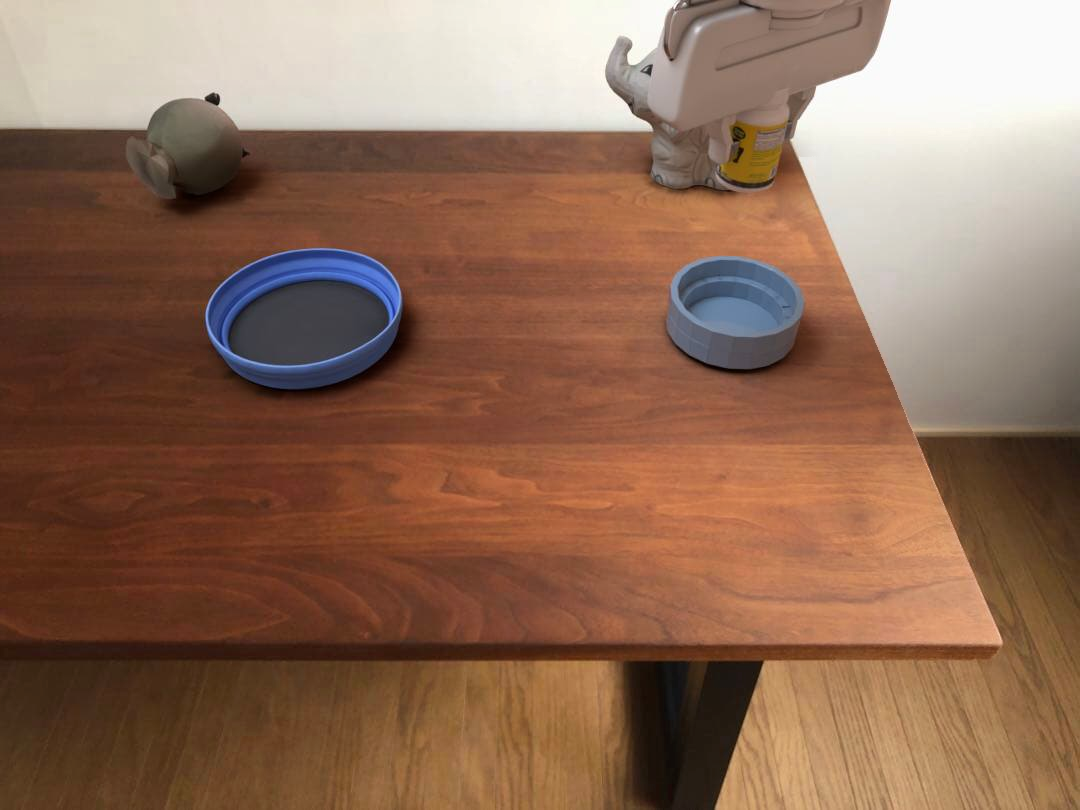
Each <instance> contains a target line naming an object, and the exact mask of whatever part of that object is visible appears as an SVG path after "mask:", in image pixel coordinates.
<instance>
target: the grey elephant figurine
mask: <svg viewBox="0 0 1080 810" xmlns="http://www.w3.org/2000/svg"><path fill="white" fill-rule="evenodd" d="M633 45H634V44H633V41H632V39H630V38H629V37H627V36H623V35H618V37H616V41H615V43H614V45H613V47H612V49H611V51H610V53H609V56H608V59H607V61H606V65H605V68H604V76H605V80H606V83H607V84H608V86H609V88H610V89H611V90H612V92H613V93H614V94H615V95H616V96H618V97H619V98H620V99H621V100H623V101H624V103H626V105H627V106H628V109H629V110H630V112H631V114H632V115H633V116H634V117H636V118H637V119H640V120H642V121H644V122H646V123H648V124H649V125H650V126H651V128H652V132H653V133H652V139H651V143H650V147H651V154H652V160H653V163H652V167H651V171H650V177H651V178H652V180H653V181H655V182H656V183H658V184H659V185H661V186H663V187H666V188H670V189H675V190H681V189H683V190H684V189H688V188H690V187H693V186H706V187H708V188H712V189H716V190H720V191H731V190H730V189H728V188H726V187H725V186H723V185H722V184H721V183H720V182H719V181H718V180H717V178H716V174H715V173H716V165H717V163H716V162H714V161H713V160H711V159H710V157H709V154H708V151H709V145H710V138H711V137H710V136H709V134H708V131H707V129H706V127H705V124H704V125H702V126H699V127H696V128H693V129H690V130H687V131H678V130H676V129H674V128H672V127H670V126H669V125H667V124H665V123H664V122H662V121H661V120H659V119H658V118H657V117H655V116H654V114H653V113H652V112H651V110H650V109H649V107H648V104H647V97H648V90H649V84H650V78H651V73H652V68H653V64H654V59H655V55H656V51H657V47H655V48H654V49H653V50H651V51H650V52H649V53H648V54H647V55H646V56H645V57H644V58H643V59H642V60H641V61H640V62H638V63H637V64H630V63H629V62H628V54H629V52H630V51H631V49H632V48H633Z"/></svg>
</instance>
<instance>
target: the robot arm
mask: <svg viewBox="0 0 1080 810" xmlns="http://www.w3.org/2000/svg"><path fill="white" fill-rule="evenodd" d="M891 3H892V0H676V1H675V2H674V4H673V6H672V7H670V8H669V9H668V10H667V12H666V14H665V17H664V23H663V27H662V30H661V32H660V36H659V39H658V43H657V47H656V48H657V51H656V55H655V59H654V64H653V68H652V73H651V78H650V84H649V90H648V97H647V104H648V107H649V109H650V110H651V112H652V113H653V114H654V116H655V117H657V118H658V119H659V120H661V121H662V122H664V123H665V124H667V125H669V126H670V127H672V128H674V129H676V130H678V131H687V130H690V129H693V128H696V127H699V126H702V125H704V124H705V127H706V129H707V131H708V134H709V136H710V137H711V138H710V145H709V151H708V154H709V157H710V159H711V160H713V161H714V162H716V163H717V164H719V165H723V164H725V163H728V162H731V161H733V160H736V159H737V158H738V150H739V148H740V142H741V141H740V140H739V139H737V138H735V137H731V133H730V130H729V125H730V126H731V125H734V123H735V120H736V115H737V113H739V112H742V111H745V110H748V109H751V108H754V107H757V106H760V105H763V104H766V103H768V102H769V101H770V100H771V99H772V97H773V96H774V94H775V92H776V91H777V90H780V89H783V88H786V87H788V88H789V89H788V90H789V93H788V95H789V97H788V100H787V102H786V103H787V105H788V107H789V119H788V123H787V128H786V132H785V136H784V141H783V143H785V142H786V141H787V142H788V141H789V140H792V139H794V137H795V133H796V130H797V125H798V121H799V120H800V119H801V117H802V116H803V114H804V113H805V111H807V110H806V109H807V108H808V107H809V105H810V104H811V102H812V101H813V100H814V98H815V94H816V90H817V87H818V86H821V85H824V84H827V83H829V82H833V81H836V80H838V79H841V78H844V77H847V76H851V75H853V74H856V73H859V72H862V71H863V70H864V69H865V68H866V67H867V66H868V64H869V63H870V62H871V60H872V59H873V57H874V56H875V54H876V52H877V50H878V48H879V44H880V41H881V39H882V35H883V31H884V28H885V26H886V22H887V18H888V16H889V15H888V14H889V10H890V6H891Z"/></svg>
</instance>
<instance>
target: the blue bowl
mask: <svg viewBox="0 0 1080 810" xmlns="http://www.w3.org/2000/svg"><path fill="white" fill-rule="evenodd" d="M669 285H670V286H669V292H668V300H667V304H666V305H667V306H666V312H665V323H666V324H665V325H666V331H667V333H668V334H669V336H670V338H671V339H672V341H673V343H674V344H675V345H676V346H677V347H678V348H679V349H680V350H682V351H683V352H685V354H687V355H688V356H690V357H692V358H694V359H696V360H699V361H700V362H703V363H705V364H708V365H712V366H715V367H719V368H725V369H729V370H731V369H732V370H752V369H759V368H764V367H768V366H770V365H772V364H774V363H776V362H778V361H780V360H782V359H784V358H785V357H786V356H787V355H788V353H789V352H791V350H792V349H793V348H794V346H795V343H796V339H797V335H798V332H799V327H800V324H801V321H802V317H803V315H804V314H803V313H804V310H805V306H806V302H805V298H804V294H803V291H802V289H801V288H800V286H799V285H798V284H797V283H796V282H795V280H794V279H793V278H792V277H791V276H789V275H788V274H786V273H785V272H783V271H782V270H781V269H779V268H777V267H776V266H773V265H770V264H769V263H766V262H763V261H761V260H758V259H753V258H748V257H743V256H739V255H716V256H715V255H714V256H709V257H704V258H700V259H697V260H695V261H692V262H690V263H687V264H686V265H684V266H682V268H681V269H680V270H678V271H677V272H676V273H675V274H674V275H673V278H672V281H671V283H670V284H669Z"/></svg>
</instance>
